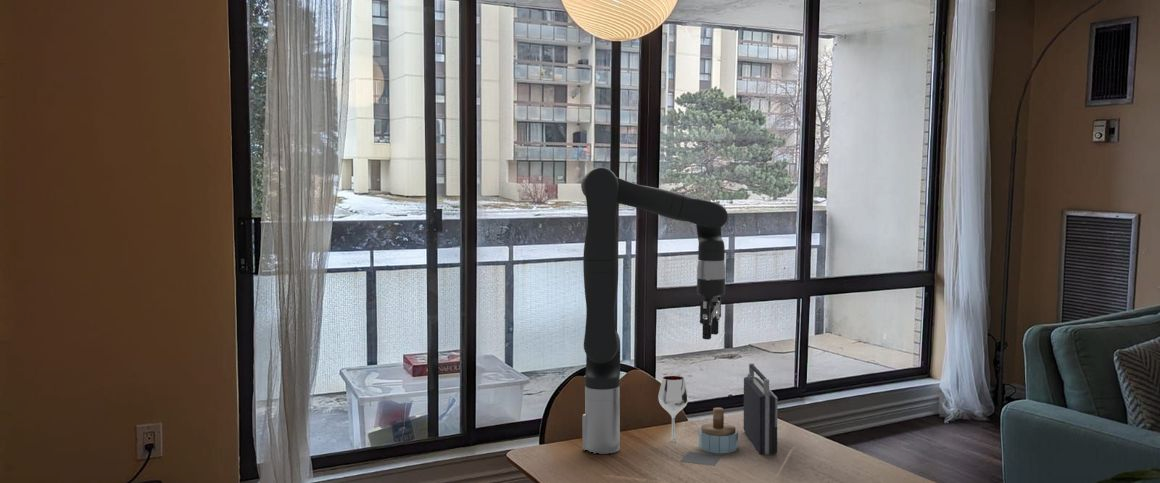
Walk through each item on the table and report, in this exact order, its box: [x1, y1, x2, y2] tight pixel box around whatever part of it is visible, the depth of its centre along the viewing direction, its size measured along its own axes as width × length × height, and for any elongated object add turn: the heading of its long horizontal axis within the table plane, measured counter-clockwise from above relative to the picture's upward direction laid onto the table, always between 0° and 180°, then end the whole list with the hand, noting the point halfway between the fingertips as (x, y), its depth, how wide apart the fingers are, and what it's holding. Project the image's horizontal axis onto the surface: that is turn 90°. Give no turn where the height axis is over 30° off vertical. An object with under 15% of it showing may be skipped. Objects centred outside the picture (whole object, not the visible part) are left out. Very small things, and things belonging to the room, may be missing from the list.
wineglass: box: [657, 375, 689, 443], centre depth 233 cm, size 8×8×18 cm
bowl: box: [698, 428, 739, 454], centre depth 227 cm, size 10×10×5 cm
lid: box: [700, 407, 736, 436], centre depth 227 cm, size 9×9×6 cm
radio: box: [743, 362, 778, 455], centre depth 233 cm, size 24×5×20 cm, turn 179°
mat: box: [679, 451, 723, 467], centre depth 218 cm, size 9×9×1 cm
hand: (710, 336), depth 229 cm, fingers open, 8 cm apart
